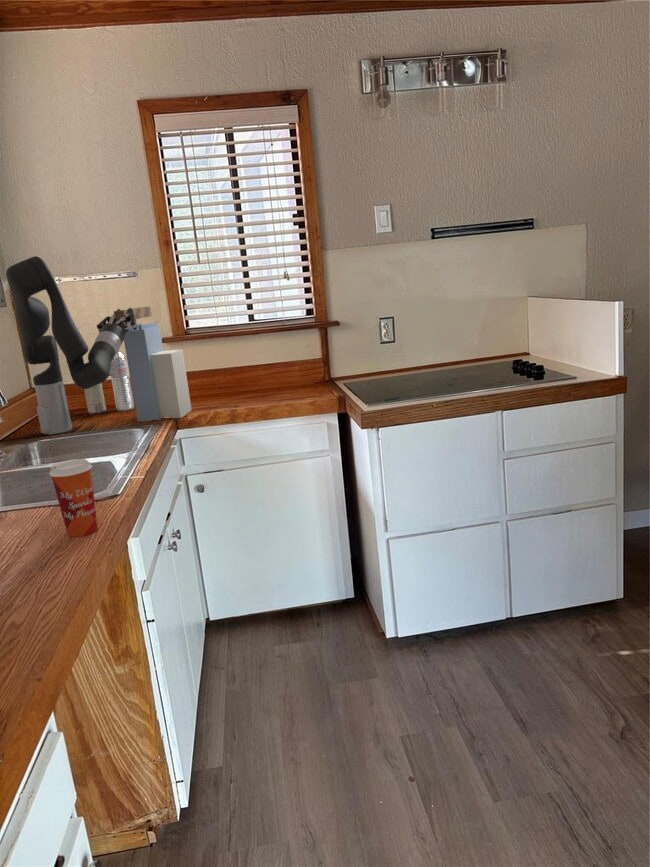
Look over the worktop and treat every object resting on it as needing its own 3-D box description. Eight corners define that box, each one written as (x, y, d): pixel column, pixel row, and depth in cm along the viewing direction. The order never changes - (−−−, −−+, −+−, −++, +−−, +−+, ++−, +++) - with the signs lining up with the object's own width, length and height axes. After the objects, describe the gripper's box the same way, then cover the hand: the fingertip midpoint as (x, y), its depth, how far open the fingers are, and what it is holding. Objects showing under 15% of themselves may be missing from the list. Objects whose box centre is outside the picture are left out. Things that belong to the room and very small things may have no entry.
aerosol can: (110, 410, 255) (101, 360, 250) (97, 414, 249) (88, 363, 244) (97, 410, 258) (88, 361, 253) (84, 413, 252) (75, 363, 247)
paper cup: (68, 543, 120) (53, 472, 117) (57, 532, 126) (43, 465, 123) (109, 530, 124) (96, 462, 121) (97, 520, 130) (84, 455, 127)
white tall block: (180, 417, 226) (170, 353, 220) (160, 419, 227) (150, 355, 222) (191, 411, 237) (182, 349, 231) (172, 412, 238) (163, 350, 232)
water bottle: (133, 406, 257) (123, 345, 251) (135, 409, 251) (124, 346, 245) (116, 409, 255) (105, 347, 249) (117, 412, 249) (106, 348, 243)
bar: (125, 321, 209) (123, 310, 209) (115, 322, 210) (113, 311, 209) (151, 316, 229) (150, 306, 229) (142, 317, 230) (141, 307, 229)
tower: (158, 420, 225) (143, 325, 217) (137, 421, 227) (121, 327, 219) (172, 412, 238) (158, 321, 230) (152, 413, 239) (137, 323, 231)
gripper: (93, 352, 205) (110, 321, 217) (133, 349, 203) (149, 318, 215) (83, 333, 200) (101, 302, 212) (125, 329, 198) (141, 299, 210)
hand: (125, 310), depth 214 cm, fingers closed on bar, 3 cm apart
